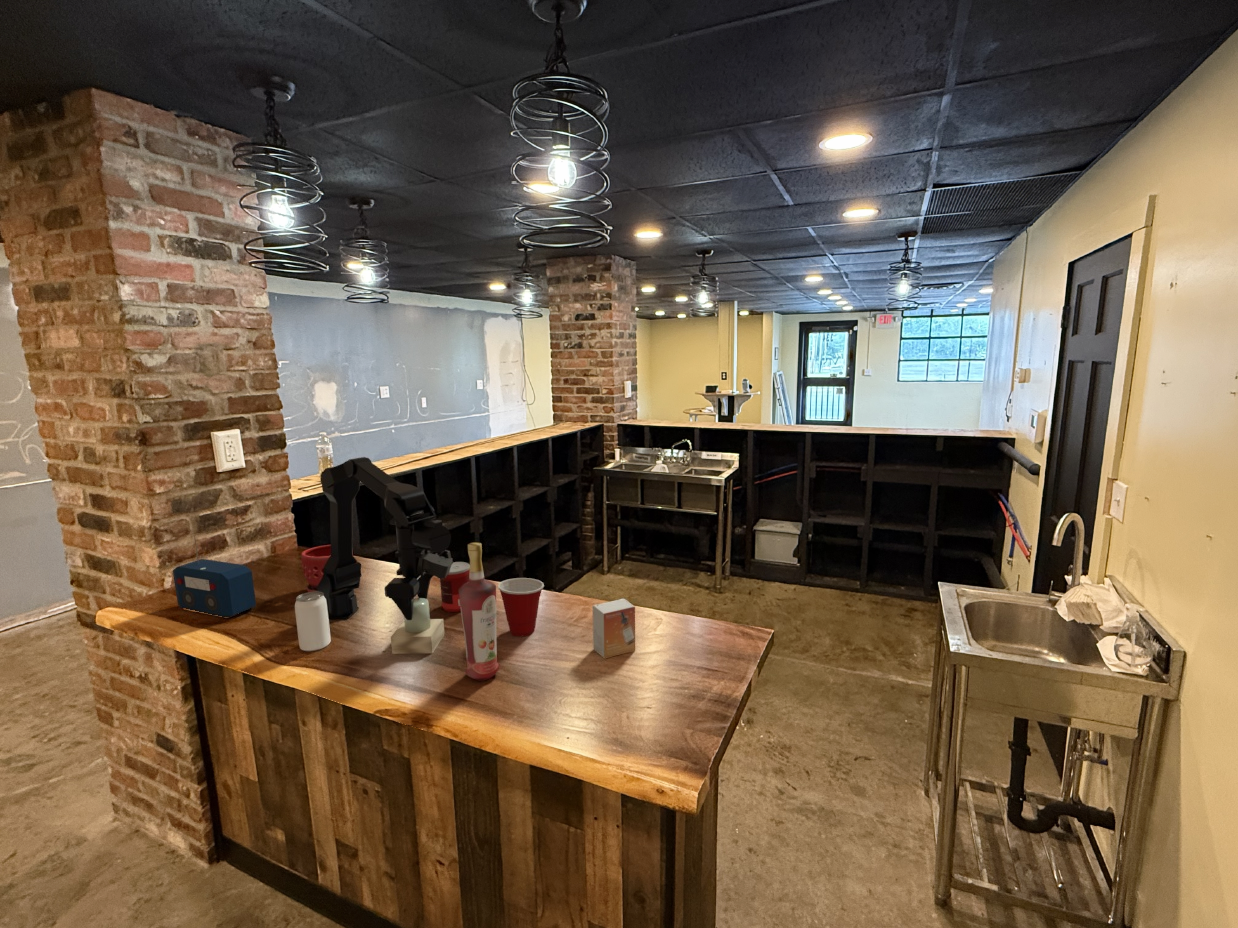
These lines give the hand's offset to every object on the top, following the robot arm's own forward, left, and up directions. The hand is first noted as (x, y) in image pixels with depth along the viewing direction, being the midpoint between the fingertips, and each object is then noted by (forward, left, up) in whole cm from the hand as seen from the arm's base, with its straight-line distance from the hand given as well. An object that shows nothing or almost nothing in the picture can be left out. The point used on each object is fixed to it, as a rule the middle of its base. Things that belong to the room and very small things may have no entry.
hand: (416, 611), depth 135 cm
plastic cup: (+23, +6, -8) cm, 25 cm away
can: (-24, 0, -8) cm, 25 cm away
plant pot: (-37, +34, -8) cm, 51 cm away
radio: (-61, +21, -8) cm, 65 cm away
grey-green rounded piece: (0, 0, -4) cm, 4 cm away
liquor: (+18, -14, -8) cm, 24 cm away
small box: (+45, -4, -8) cm, 46 cm away
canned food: (+3, +21, -8) cm, 23 cm away
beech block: (0, 0, -8) cm, 8 cm away
